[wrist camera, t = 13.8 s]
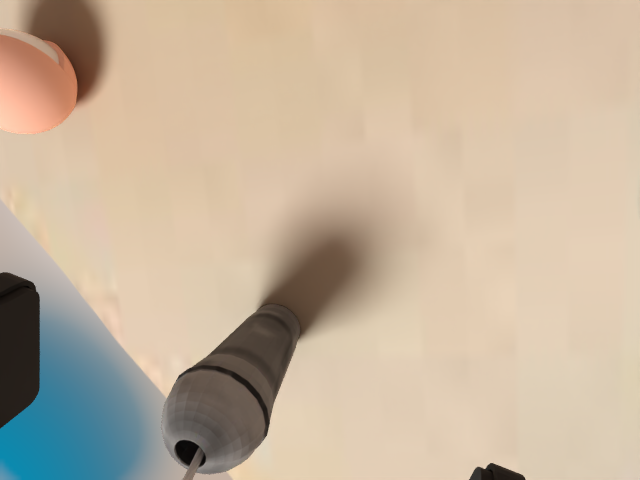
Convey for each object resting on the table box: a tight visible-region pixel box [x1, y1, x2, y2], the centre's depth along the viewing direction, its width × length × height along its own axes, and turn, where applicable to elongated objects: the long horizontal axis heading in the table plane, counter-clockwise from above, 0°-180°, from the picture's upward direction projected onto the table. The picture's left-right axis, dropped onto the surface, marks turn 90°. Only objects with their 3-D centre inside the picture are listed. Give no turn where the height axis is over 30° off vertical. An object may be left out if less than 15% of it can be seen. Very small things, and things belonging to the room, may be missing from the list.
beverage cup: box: [161, 304, 300, 480], centre depth 34 cm, size 7×7×20 cm
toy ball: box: [0, 29, 77, 134], centre depth 36 cm, size 8×8×8 cm
